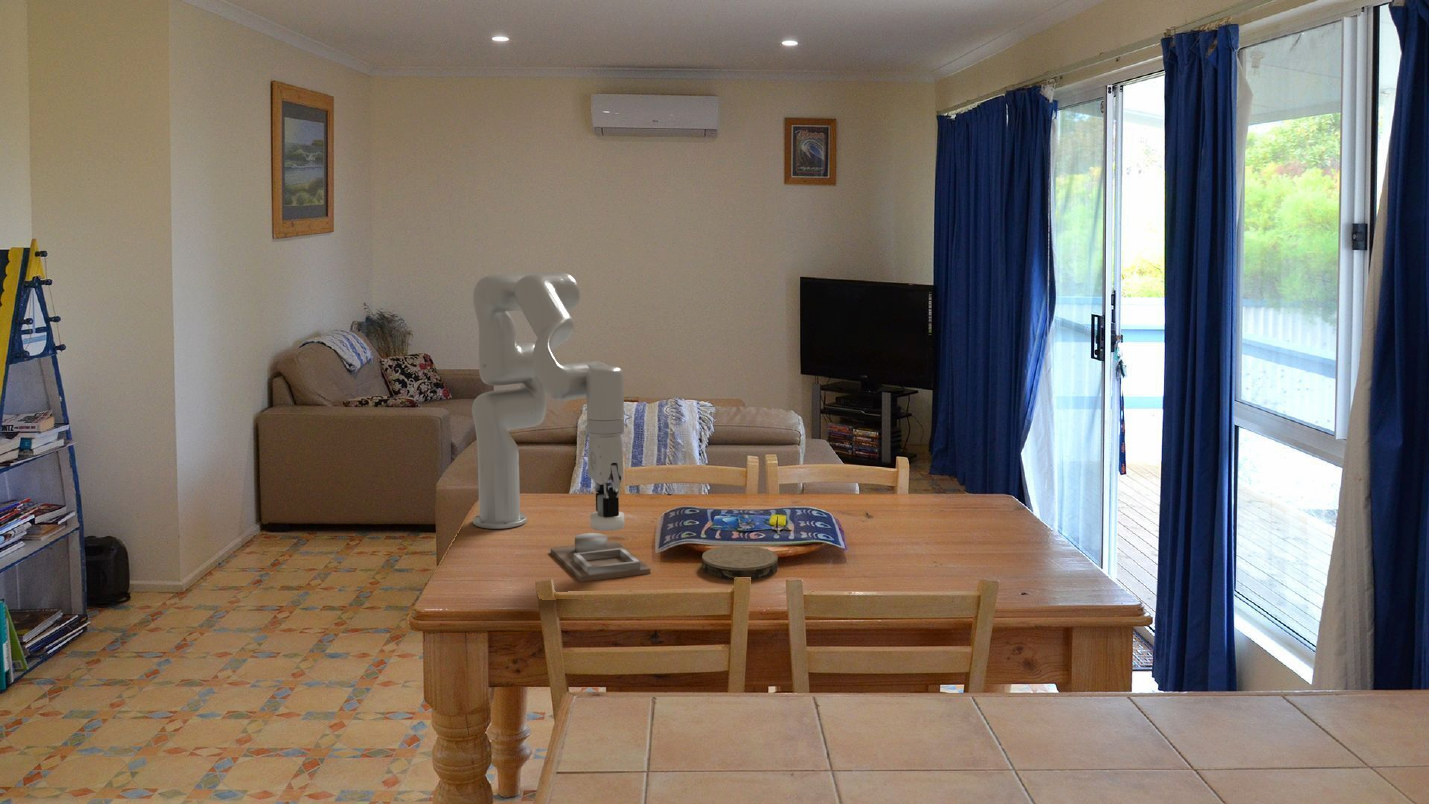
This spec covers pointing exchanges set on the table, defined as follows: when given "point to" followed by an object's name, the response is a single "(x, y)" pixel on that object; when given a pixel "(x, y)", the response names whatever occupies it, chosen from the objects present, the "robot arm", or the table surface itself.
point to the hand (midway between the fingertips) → (607, 513)
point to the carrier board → (598, 558)
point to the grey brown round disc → (739, 562)
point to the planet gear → (605, 518)
